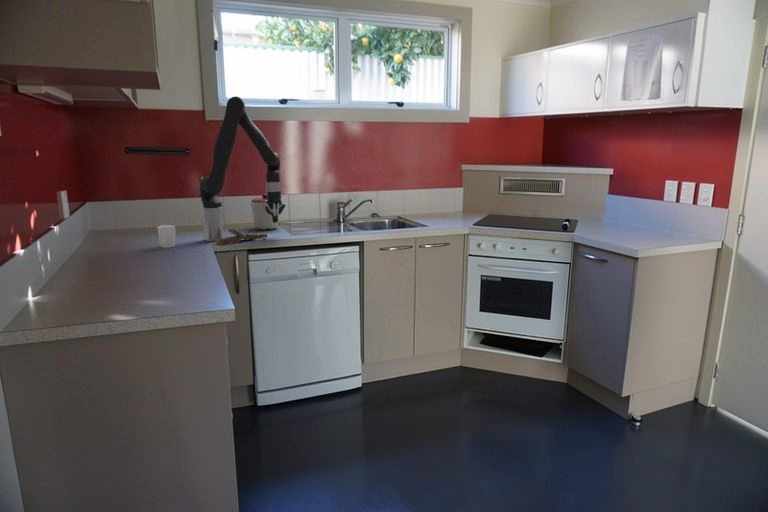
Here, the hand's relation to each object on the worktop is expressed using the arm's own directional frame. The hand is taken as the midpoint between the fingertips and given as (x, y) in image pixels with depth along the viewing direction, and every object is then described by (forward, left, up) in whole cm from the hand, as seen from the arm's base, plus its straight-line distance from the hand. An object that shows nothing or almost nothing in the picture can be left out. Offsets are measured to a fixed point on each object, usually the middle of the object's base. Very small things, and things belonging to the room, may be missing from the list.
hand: (275, 222), depth 278 cm
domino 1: (-21, +1, -6) cm, 22 cm away
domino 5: (-12, -4, -8) cm, 15 cm away
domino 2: (-23, +1, -8) cm, 24 cm away
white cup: (-54, +12, -8) cm, 56 cm away
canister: (+11, +27, -8) cm, 31 cm away
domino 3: (-17, +1, -7) cm, 18 cm away
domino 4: (-7, 0, -6) cm, 9 cm away
